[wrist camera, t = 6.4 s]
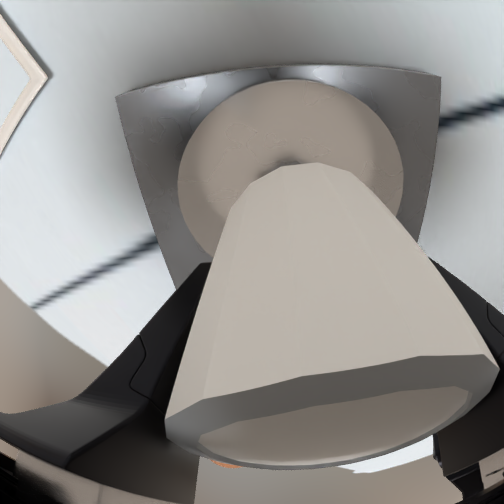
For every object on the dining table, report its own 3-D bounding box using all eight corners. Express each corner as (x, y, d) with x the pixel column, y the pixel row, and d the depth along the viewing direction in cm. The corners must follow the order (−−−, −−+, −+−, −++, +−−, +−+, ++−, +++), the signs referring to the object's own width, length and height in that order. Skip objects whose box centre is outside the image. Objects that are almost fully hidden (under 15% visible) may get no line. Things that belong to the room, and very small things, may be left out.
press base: (424, 72, 10) (456, 81, 8) (376, 335, 23) (383, 362, 21) (128, 91, 11) (102, 102, 9) (210, 348, 24) (206, 376, 22)
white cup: (201, 138, 8) (96, 357, 3) (420, 157, 8) (560, 330, 3) (212, 301, 12) (191, 468, 7) (369, 304, 12) (406, 456, 7)
